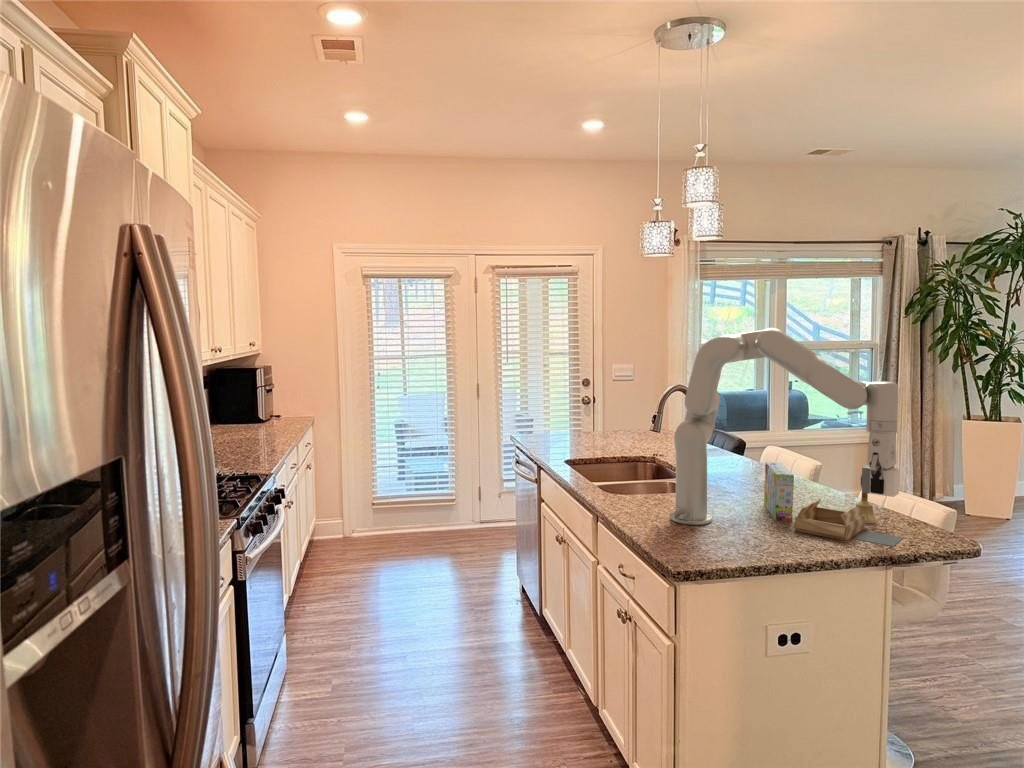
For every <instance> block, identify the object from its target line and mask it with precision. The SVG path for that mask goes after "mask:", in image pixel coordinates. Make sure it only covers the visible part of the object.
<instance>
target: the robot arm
mask: <svg viewBox="0 0 1024 768" xmlns="http://www.w3.org/2000/svg"><path fill="white" fill-rule="evenodd" d="M763 358H766V359H768V360H770V361H771V362H772V363H774V364H776V365H777V366H779V367H780V368H782V369H784V370H785V371H787V372H788V373H789V374H791V375H793V376H794V377H796V378H797V379H799V380H800V381H802V382H803V383H805V384H806V385H808V386H810V387H811V388H812V389H813V388H814V390H816V391H818V392H819V393H820V394H822V395H823V396H825V397H826V398H828V399H829V400H831V401H832V402H834V403H836V404H838V405H839V406H841V407H843V408H845V409H847V410H857V409H859V408H861V407H863V406H866V426H865V427H866V430H865V432H868V433H869V435H868V443H867V444H868V445H867V446H868V447H867V465H868V466H869V467H870V470H871V484H870V492H871V493H878V494H883V493H884V479H883V470H884V469H889V468H894V466H896V464H897V440H896V438H897V437H896V434H898V426H899V424H898V423H899V421H898V420H899V418H898V417H899V385H898V383H897V382H894V381H864V380H863V381H862V380H857V379H855V380H854V379H853V378H850V377H849V376H847V375H845V374H844V373H842V372H841V371H840V370H838V369H836V368H835V367H833V366H832V365H831V364H829V363H828V362H827V361H826V360H825V359H823V357H822V356H821V355H819V354H818V353H817V352H815V351H813V350H812V349H810V348H809V347H807V346H805V345H804V344H802V343H801V342H799V341H797V340H795V339H793V338H792V337H790V336H789V335H787V334H786V333H785V332H783V331H782V330H781V329H779V328H775V327H768V328H765V329H761V330H756V331H748V332H744V333H743V332H742V333H736V334H734V333H733V334H732V333H731V334H730V333H729V334H724V335H720V336H716V337H714V338H711V339H710V340H707V341H706V342H705V343H704V344H703V345H701V347H700V349H699V350H698V352H697V353H696V356H695V359H694V362H693V366H692V370H691V374H690V377H689V381H688V385H687V389H686V393H685V397H684V407H685V409H686V412H685V417H684V420H683V421H682V422H680V423H679V424H678V426H677V427H676V430H675V432H674V451H675V507H674V508H675V509H674V511H672V512H671V513H669V518H670V520H671V521H673V522H676V523H678V524H683V525H690V526H694V525H695V526H700V525H708V524H710V523H711V522H713V516H712V515H710V514H709V513H708V449H707V445H708V444H707V443H708V442H709V440H711V438H712V436H713V432H714V429H715V424H716V420H717V416H718V412H719V407H720V401H721V397H720V394H719V391H718V387H719V382H720V379H721V374H722V369H723V367H724V366H725V365H726V364H731V363H736V362H742V361H749V360H756V359H763ZM877 466H879V467H881V468H878V467H877ZM877 470H880V472H879V471H877Z"/></svg>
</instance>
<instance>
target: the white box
mask: <svg viewBox="0 0 1024 768" xmlns="http://www.w3.org/2000/svg"><path fill="white" fill-rule="evenodd" d="M877 467H878V468H881V467H879V466H877ZM877 471H879V472H880V470H877ZM861 475H862V487H861V494H862V493H868V494H871V495H877V496H883V497H884V496H885V497H891V498H894V497H896V496H898V495H899V494H900V468H896V467H891V468H889V469H884V470H883V479H884V493H883V494H878V493H871V492H870V484H871V470H870V467H869V466H868V464H867V465H865V466H863V467H862V468H861Z"/></svg>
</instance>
